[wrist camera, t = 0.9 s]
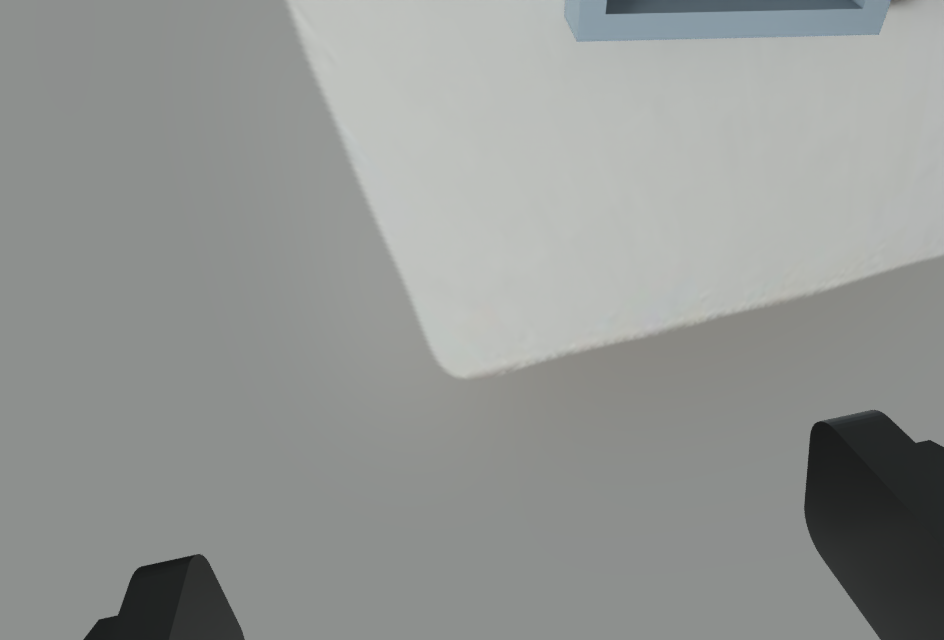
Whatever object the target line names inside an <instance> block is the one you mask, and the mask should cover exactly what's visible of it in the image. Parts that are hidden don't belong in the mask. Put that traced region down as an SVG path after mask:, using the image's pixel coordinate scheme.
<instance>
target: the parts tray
mask: <svg viewBox="0 0 944 640" xmlns="http://www.w3.org/2000/svg"><path fill="white" fill-rule="evenodd" d="M890 2H891V0H566V1H565V14H564V17H565V19H566V21H567V23H568V25H569V27H570V29H571V31H572V33H573V35H574V37H575V39H576V41H577V42H581V41H624V40H667V39H710V38H753V37H796V36H839V35H879V33H880V30H881V28H882V25H883V22H884V19H885V16H886V13H887V10H888V8H889V5H890Z"/></svg>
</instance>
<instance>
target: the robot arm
mask: <svg viewBox="0 0 944 640" xmlns="http://www.w3.org/2000/svg"><path fill="white" fill-rule="evenodd" d="M804 510H805V518H806V523H807V527H808V530H809V533H810V536H811V538H812V541H813V543H814V545H815V547H816V549H817V551H818V552H819V554H820V555H821V557H822V558H823V560H824V561H825V563H826V564H827V565H828V567H829V568H830V570H831V571H832V572H833V574H834V575H835V577H836V578H837V579H838V581H839V582H840V584H841V585H842V586H843V588H844V589H845V590H846V592H847V593H848V595H849V596H850V598H851V599H852V600H853V602H854V603H855V604H856V606H857V607H858V609H859V610H860V611H861V613H862V614H863V616H864V617H865V618H866V620H867V621H868V623H869V624H870V625H871V627H872V628H873V630H874V631H875V632H876V634H877V635H878V637H879V638H880V639H881V640H944V447H942V446H940V445H938V444H937V443H934V442H932V441H931V440H928V441H923V442H918V443H915V442H914V441H913V440H912V439H911V438H910V437H909V436H908V435H907V434H905V433H904V432H903V431H902V430H901V429H900V428H899V427H898V426H897V425H896V424H895V423H894V422H893V421H892V420H891V419H890V418H889V417H888V416H886V415H885V414H884V413H882V412H880V411H876V410H870V411H865V412H861V413H856V414H852V415H847V416H842V417H838V418H833V419H828V420H824V421H820V422H817V423H815V424H814V426H813V427H812V430H811V434H810V444H809V456H808V469H807V480H806V492H805V506H804ZM84 640H245V639H244V636H243V632H242V630H241V627H240V625H239V623H238V621H237V619H236V617H235V615H234V613H233V611H232V609H231V607H230V605H229V603H228V601H227V599H226V597H225V595H224V593H223V590H222V589H221V586H220V584H219V582H218V580H217V578H216V576H215V574H214V572H213V570H212V568H211V566H210V564H209V562H208V561H207V559H206V558H205V557H204V556H203V555H200V554H197V555H192V556H187V557H183V558H179V559H174V560H169V561H165V562H160V563H155V564H151V565H146V566H141V567H139V568H138V569H137V570H136V571H135V572H134V574H133V576H132V578H131V580H130V583H129V586H128V588H127V592H126V594H125V597H124V600H123V603H122V606H121V609H120V611H119V614H118V616H114V617H109V618H104V619H100V620H98V622H97V623H96V624H95V625H94V627H93V628H92V629H91V631H90V632H89V633H88V635H87V636H86V637H85V638H84Z"/></svg>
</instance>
